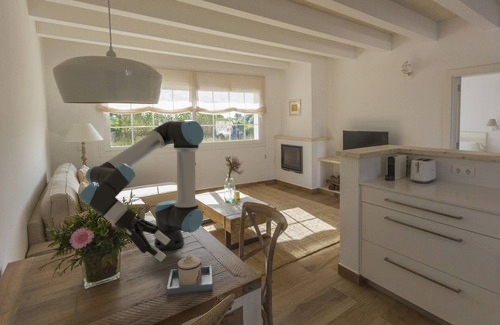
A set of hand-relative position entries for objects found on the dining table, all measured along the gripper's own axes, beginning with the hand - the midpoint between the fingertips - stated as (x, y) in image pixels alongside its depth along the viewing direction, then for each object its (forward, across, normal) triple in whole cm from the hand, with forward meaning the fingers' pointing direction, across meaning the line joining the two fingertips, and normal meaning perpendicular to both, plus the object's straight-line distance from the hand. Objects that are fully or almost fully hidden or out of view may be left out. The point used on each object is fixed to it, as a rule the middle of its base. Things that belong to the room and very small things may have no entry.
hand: (166, 250), depth 106 cm
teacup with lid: (+16, 0, -4) cm, 17 cm away
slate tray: (+17, 0, -4) cm, 17 cm away
